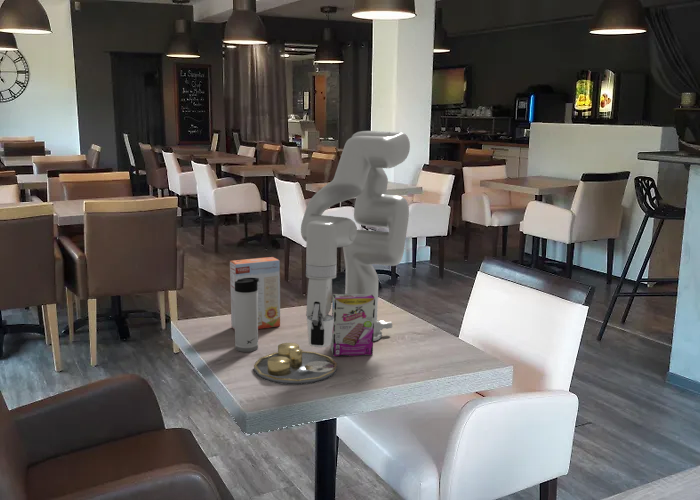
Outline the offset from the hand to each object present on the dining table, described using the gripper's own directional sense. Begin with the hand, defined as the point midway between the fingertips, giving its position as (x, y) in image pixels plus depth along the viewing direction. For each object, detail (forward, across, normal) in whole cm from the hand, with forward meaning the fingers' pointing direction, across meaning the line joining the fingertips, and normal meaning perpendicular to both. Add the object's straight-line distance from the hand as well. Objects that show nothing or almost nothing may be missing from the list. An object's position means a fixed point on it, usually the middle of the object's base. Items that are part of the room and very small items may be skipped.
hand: (319, 339), depth 175 cm
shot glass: (+1, 0, 0) cm, 1 cm away
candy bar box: (+8, -14, +6) cm, 18 cm away
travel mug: (+8, -13, -23) cm, 27 cm away
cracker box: (+8, -32, -26) cm, 42 cm away
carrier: (+8, 0, -6) cm, 10 cm away
